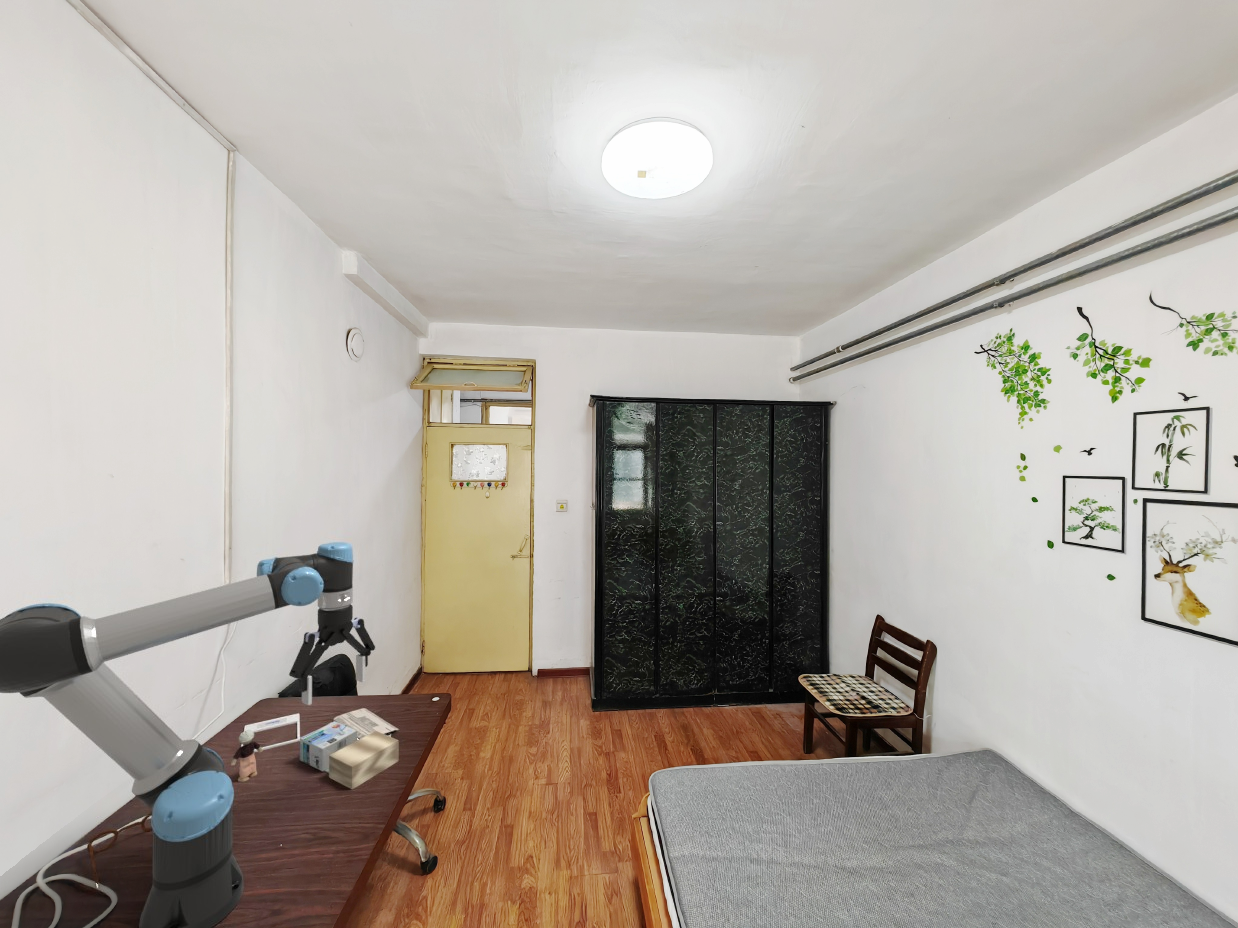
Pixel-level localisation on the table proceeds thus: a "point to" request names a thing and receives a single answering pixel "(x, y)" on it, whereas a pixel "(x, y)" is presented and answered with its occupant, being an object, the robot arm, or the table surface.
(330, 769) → the beech step
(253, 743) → the grandmother figurine
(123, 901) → the table surface
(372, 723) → the newspaper
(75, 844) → the table surface
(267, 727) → the photo frame
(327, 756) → the light bulb box
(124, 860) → the table surface
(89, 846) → the glasses
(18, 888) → the table surface
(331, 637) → the robot arm
